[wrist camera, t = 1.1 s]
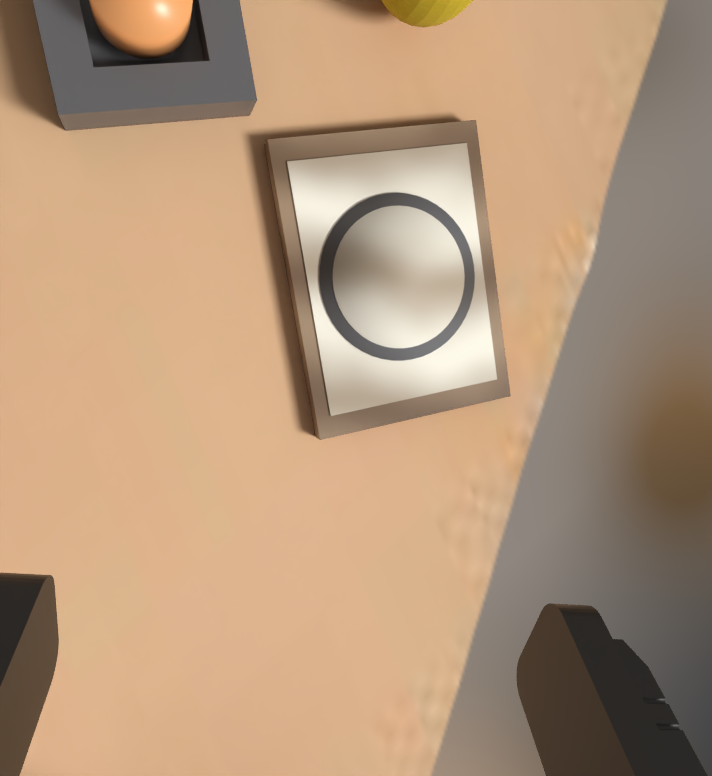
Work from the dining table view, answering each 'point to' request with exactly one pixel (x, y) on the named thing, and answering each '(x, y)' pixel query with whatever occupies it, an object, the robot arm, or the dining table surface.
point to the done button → (143, 25)
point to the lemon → (425, 10)
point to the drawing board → (389, 272)
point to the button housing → (146, 69)
